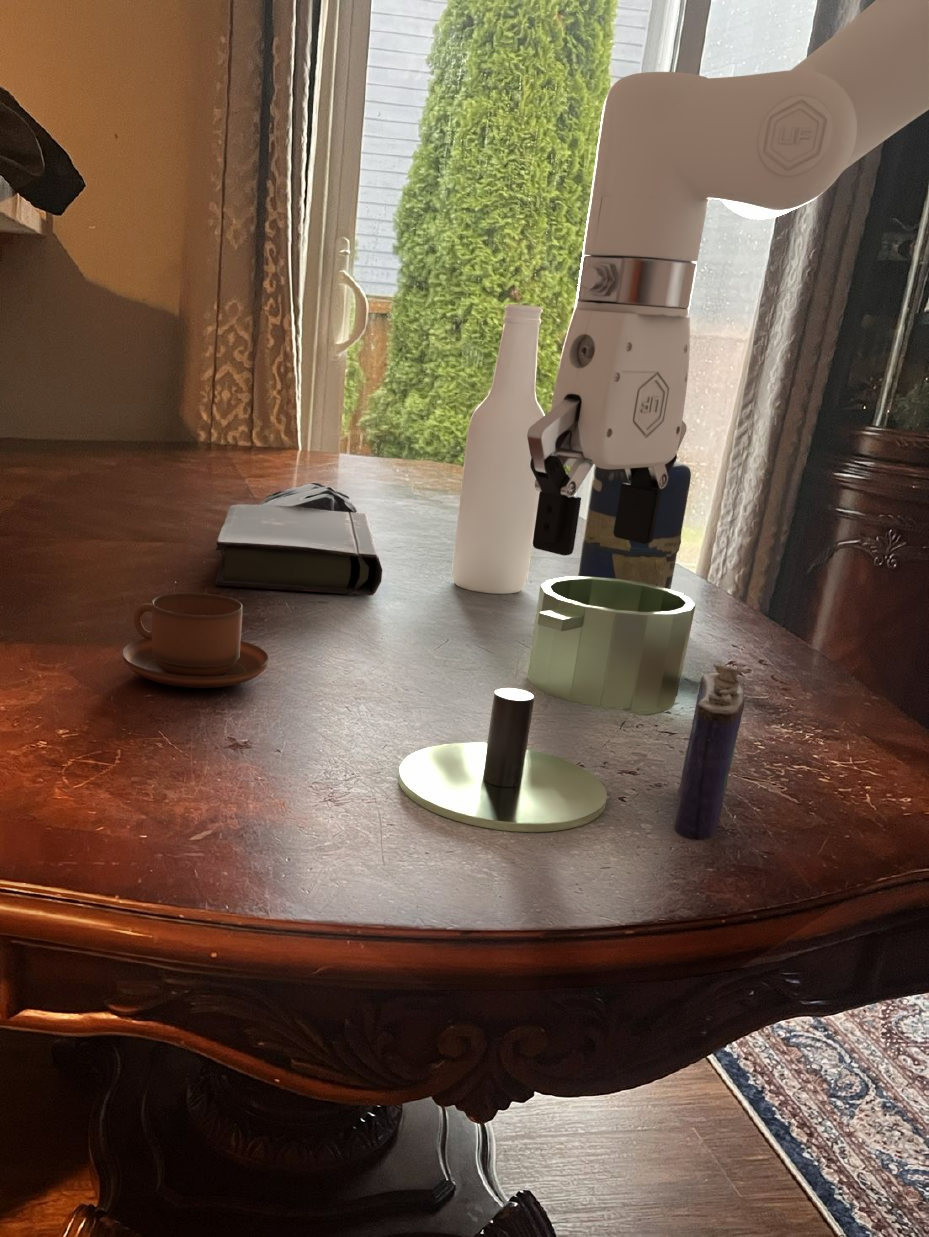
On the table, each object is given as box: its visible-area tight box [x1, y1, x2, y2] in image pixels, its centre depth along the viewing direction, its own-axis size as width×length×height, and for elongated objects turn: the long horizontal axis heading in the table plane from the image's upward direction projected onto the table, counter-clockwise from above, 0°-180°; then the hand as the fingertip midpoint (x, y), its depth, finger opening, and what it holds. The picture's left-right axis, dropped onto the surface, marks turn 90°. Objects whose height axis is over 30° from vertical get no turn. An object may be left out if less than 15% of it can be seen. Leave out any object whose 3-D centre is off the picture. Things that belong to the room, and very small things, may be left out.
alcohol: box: [450, 303, 546, 595], centre depth 130 cm, size 9×9×30 cm
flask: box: [674, 662, 748, 842], centre depth 75 cm, size 9×3×11 cm, turn 162°
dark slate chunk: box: [260, 482, 358, 513], centre depth 166 cm, size 15×22×5 cm
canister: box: [577, 460, 692, 590], centre depth 118 cm, size 10×10×18 cm
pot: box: [526, 576, 696, 716], centre depth 100 cm, size 13×18×8 cm
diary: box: [214, 503, 383, 596], centre depth 136 cm, size 19×25×5 cm
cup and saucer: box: [122, 592, 270, 689], centre depth 96 cm, size 12×12×6 cm
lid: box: [397, 687, 608, 833], centre depth 77 cm, size 14×14×7 cm
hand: (593, 545), depth 85 cm, fingers open, 9 cm apart
